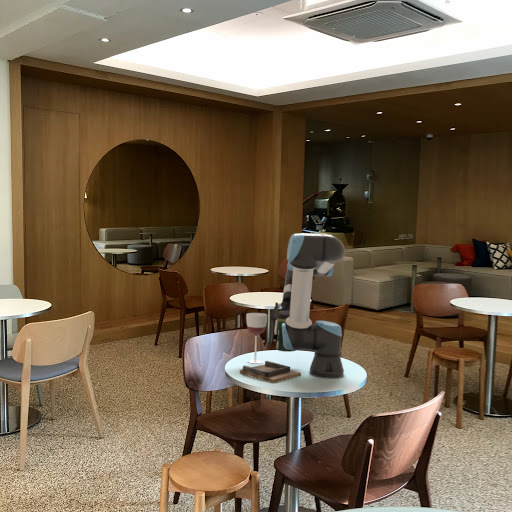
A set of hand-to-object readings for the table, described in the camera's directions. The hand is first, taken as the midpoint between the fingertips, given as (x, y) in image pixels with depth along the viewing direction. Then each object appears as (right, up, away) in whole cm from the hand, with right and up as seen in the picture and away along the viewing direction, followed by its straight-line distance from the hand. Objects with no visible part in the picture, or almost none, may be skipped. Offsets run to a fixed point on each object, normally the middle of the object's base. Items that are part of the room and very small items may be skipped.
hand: (286, 333), depth 260 cm
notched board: (-8, -16, -12) cm, 21 cm away
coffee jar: (0, -8, +3) cm, 9 cm away
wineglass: (-14, -15, +10) cm, 23 cm away
